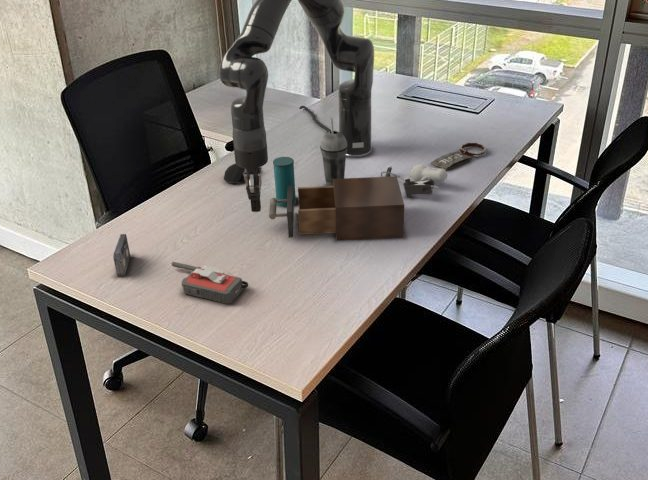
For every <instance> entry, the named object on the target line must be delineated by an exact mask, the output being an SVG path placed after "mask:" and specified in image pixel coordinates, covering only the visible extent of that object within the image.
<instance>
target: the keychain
mask: <svg viewBox="0 0 648 480" xmlns="http://www.w3.org/2000/svg"><path fill="white" fill-rule="evenodd" d="M467 148H478V149H481V150H480V151H468V150H467ZM486 153H487V146H486V145H484V144H483V143H479V142H476V141H475V142H474V141H473V142H465V143H462V144H461V145H460V147H459V151H451V152H449V153H445V154H443V155H441V156H439V157H437V158H435V159H434V160H433V161H431V162H430V164H431V165H433V166H436V167H437V168H441V169H445V170H450V169H451V170H452V169H454V168H457V167H459V166H461V165H463V164H466V163H467V162H468V161H470V160H471V159H472V158H473V157H475V158H477V157H481V156H482V157H483V156H484V155H485V154H486Z"/></svg>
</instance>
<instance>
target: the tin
mask: <svg viewBox="0 0 648 480" xmlns="http://www.w3.org/2000/svg"><path fill="white" fill-rule="evenodd" d="M294 164H295V159H294V158H292V157H290V156H279V157H276V158H274V159H273V160H272V165H273V174H274V175H273V176H274V188H275V198H276V200H284V199H287V185H292V189H293V205H295V204H296V202H297V197H296V196H297V195H296V181H295V165H294ZM277 205H278V206H280V207H283V208H285V207H286V208H287V202H286V203H277Z"/></svg>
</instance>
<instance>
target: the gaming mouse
mask: <svg viewBox="0 0 648 480" xmlns="http://www.w3.org/2000/svg"><path fill="white" fill-rule="evenodd" d="M244 172H245V170H244V168H242V167H239V166H238V165H237V164H236V162H235V163H233V164H231V165H229V166H228V167H227V169H226V170H225V171H224V175H223V180H224V181H225V182H226V183H229V184H242V183H244V182H246V181H245V180H244Z"/></svg>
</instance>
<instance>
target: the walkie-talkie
mask: <svg viewBox="0 0 648 480" xmlns="http://www.w3.org/2000/svg"><path fill="white" fill-rule="evenodd" d="M171 266H172V267H174V268H179V269H182V270H187V271H190V274H188V276H186V277H184V278H183V279H182V280H181V287H182V290H183V293H184V294H186V295H190V296H193V297H196V298H197V297H198V298H202V299H206V300H210V301H214V302H217V303H223V304H226V305H227V304H231V303H232V302H233V301H234V300H235V299H236V298H237V297H238V296H239V294H241V292H242V291H243V290H244V289H247V288H248V287H249V283H248V282H247V281H245V280H243V279H242V277H239V276H235V275H230V274H226V273H224V272H223V271H222V269H221V268H218V267H214V266H210V265H207V264H204V265H203V266H202V267H201V266H194V265H189V264H186V263H181V262H178V261H177V262H176V261H172V262H171Z"/></svg>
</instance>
